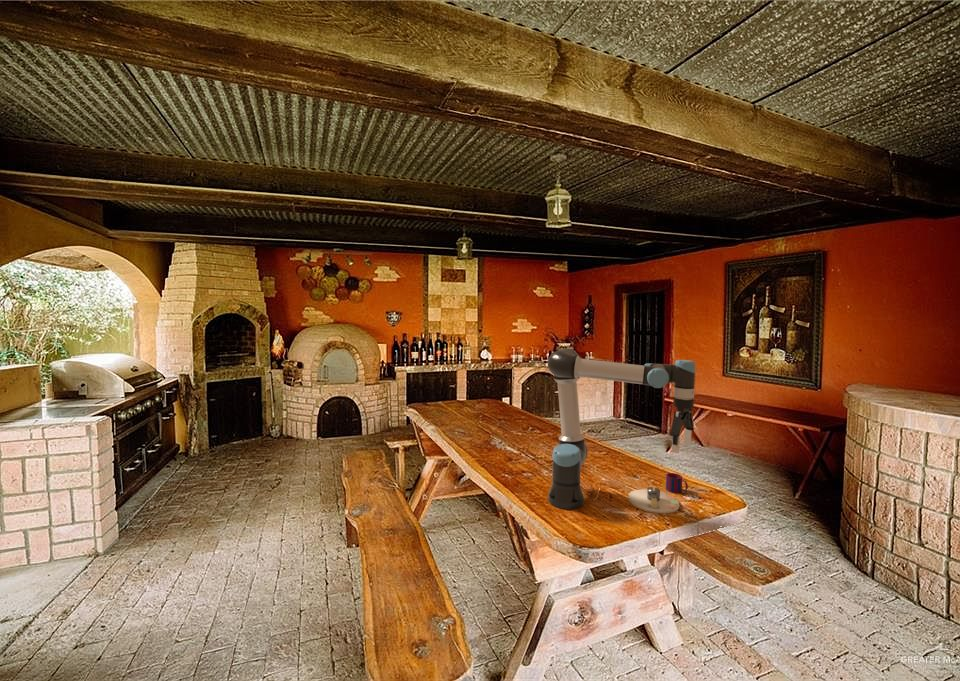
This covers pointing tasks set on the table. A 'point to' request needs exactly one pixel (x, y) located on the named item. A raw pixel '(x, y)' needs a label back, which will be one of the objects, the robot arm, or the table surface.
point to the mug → (674, 483)
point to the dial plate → (642, 502)
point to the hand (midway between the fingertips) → (681, 448)
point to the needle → (653, 496)
